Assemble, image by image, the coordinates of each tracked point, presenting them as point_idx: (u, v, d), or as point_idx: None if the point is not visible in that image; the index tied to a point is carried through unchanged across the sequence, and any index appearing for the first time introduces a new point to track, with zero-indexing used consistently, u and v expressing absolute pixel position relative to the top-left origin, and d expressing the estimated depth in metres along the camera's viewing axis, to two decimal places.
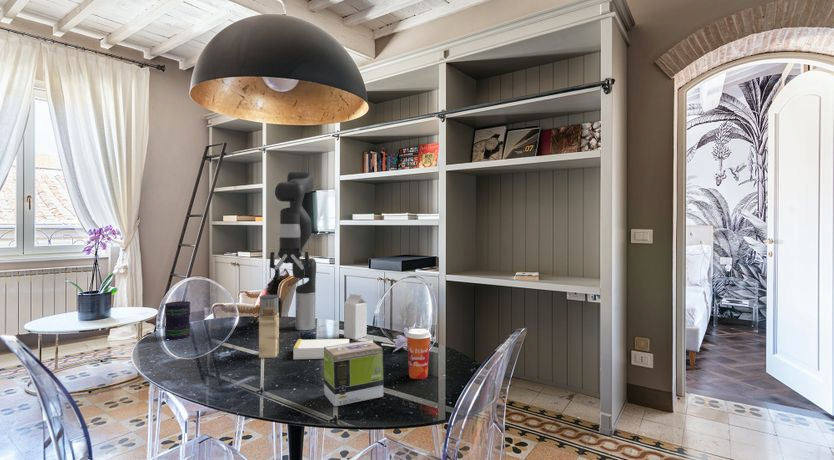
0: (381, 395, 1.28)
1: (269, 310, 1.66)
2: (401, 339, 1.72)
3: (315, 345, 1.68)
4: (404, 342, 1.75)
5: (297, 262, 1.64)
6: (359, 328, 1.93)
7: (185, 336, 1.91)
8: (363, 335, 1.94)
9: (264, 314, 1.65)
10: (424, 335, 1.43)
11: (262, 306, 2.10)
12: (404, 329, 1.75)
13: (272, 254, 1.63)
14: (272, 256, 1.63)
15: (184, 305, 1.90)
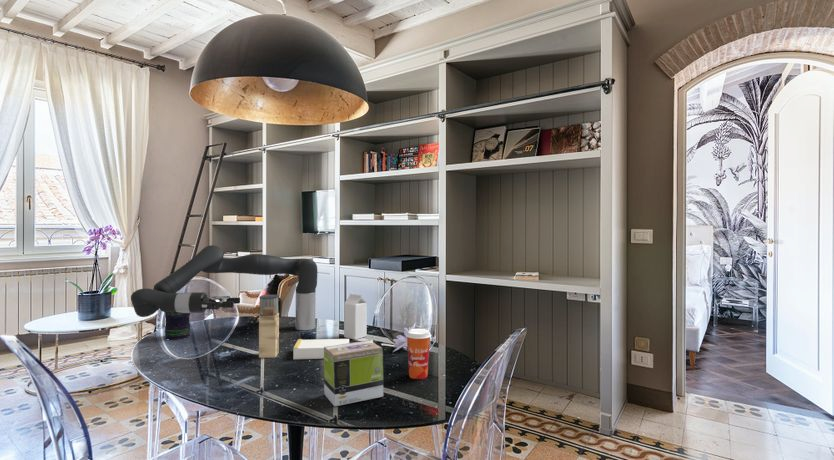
0: (381, 395, 1.28)
1: (269, 310, 1.66)
2: (401, 339, 1.72)
3: (315, 345, 1.68)
4: (404, 342, 1.75)
5: (215, 308, 1.62)
6: (359, 328, 1.93)
7: (185, 336, 1.91)
8: (363, 335, 1.94)
9: (264, 314, 1.65)
10: (424, 335, 1.43)
11: (262, 306, 2.10)
12: (404, 329, 1.75)
13: None
14: None
15: None
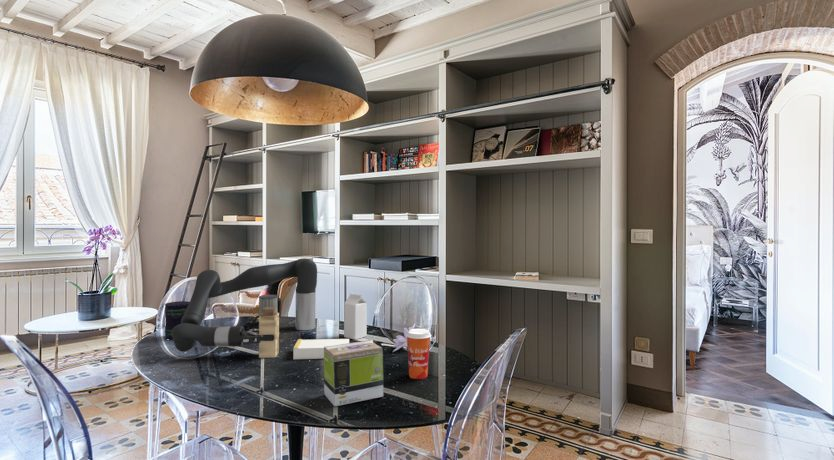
0: (381, 395, 1.28)
1: (269, 310, 1.66)
2: (400, 339, 1.72)
3: (315, 345, 1.68)
4: (404, 342, 1.75)
5: None
6: (359, 328, 1.93)
7: None
8: (363, 335, 1.94)
9: (264, 314, 1.65)
10: (424, 335, 1.43)
11: (261, 306, 2.10)
12: (404, 329, 1.75)
13: None
14: None
15: (184, 305, 1.90)
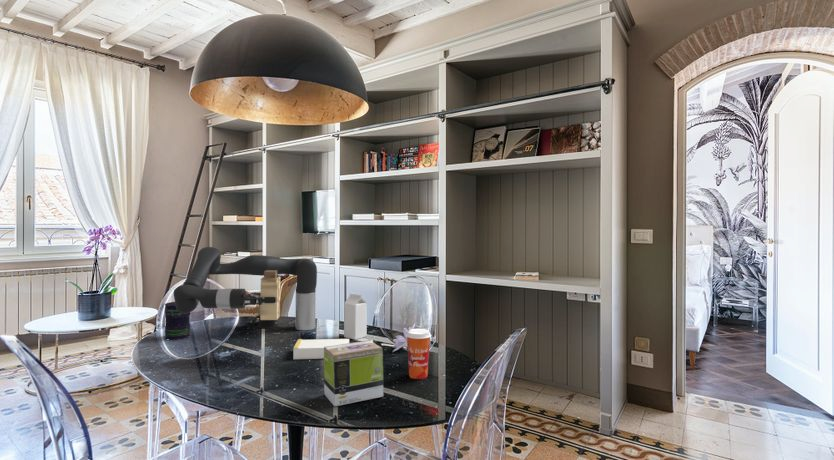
0: (381, 395, 1.28)
1: (271, 272, 1.65)
2: (400, 339, 1.72)
3: (315, 345, 1.68)
4: (403, 342, 1.75)
5: None
6: (359, 328, 1.93)
7: (185, 336, 1.91)
8: (363, 335, 1.94)
9: (266, 276, 1.65)
10: (424, 335, 1.43)
11: None
12: (403, 330, 1.75)
13: None
14: None
15: None
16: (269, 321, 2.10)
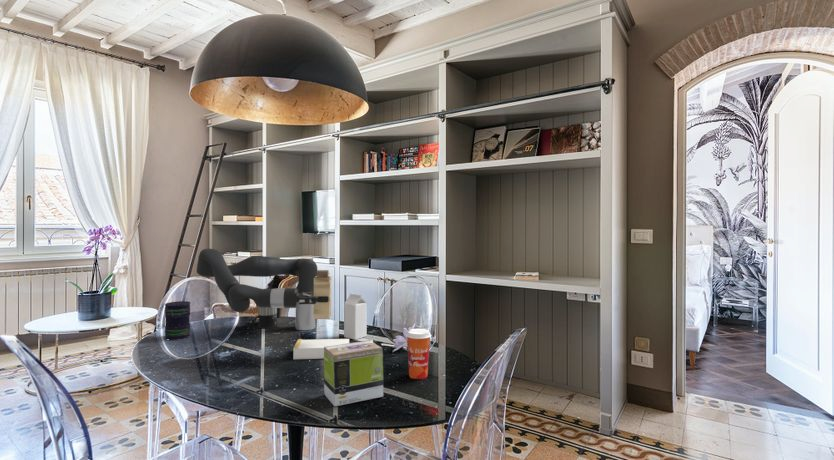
0: (381, 395, 1.28)
1: (323, 272, 1.68)
2: (400, 339, 1.72)
3: (315, 345, 1.68)
4: (403, 342, 1.75)
5: None
6: (359, 328, 1.93)
7: (185, 336, 1.91)
8: (363, 335, 1.94)
9: (318, 276, 1.67)
10: (424, 335, 1.43)
11: None
12: (403, 329, 1.75)
13: None
14: None
15: (184, 305, 1.90)
16: (269, 321, 2.10)
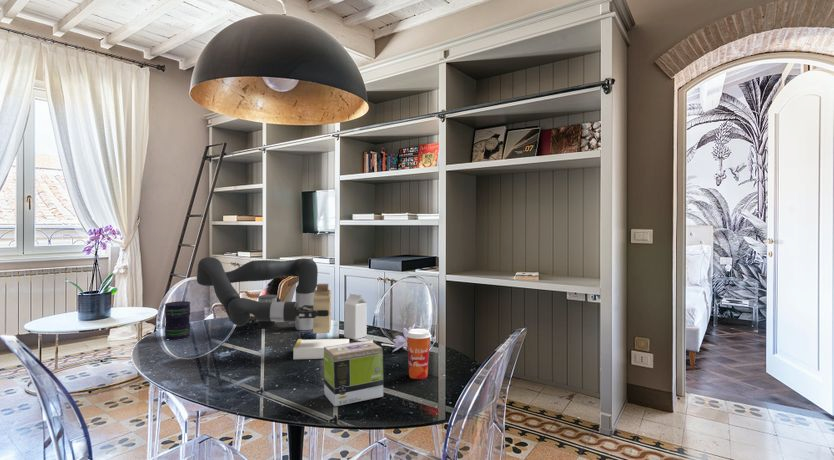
0: (381, 395, 1.28)
1: (323, 286, 1.68)
2: (400, 339, 1.72)
3: (315, 345, 1.68)
4: (403, 342, 1.75)
5: None
6: (359, 328, 1.93)
7: (185, 336, 1.91)
8: (363, 335, 1.94)
9: (318, 290, 1.68)
10: (424, 335, 1.43)
11: None
12: (403, 329, 1.75)
13: None
14: None
15: (184, 305, 1.90)
16: (268, 321, 2.10)
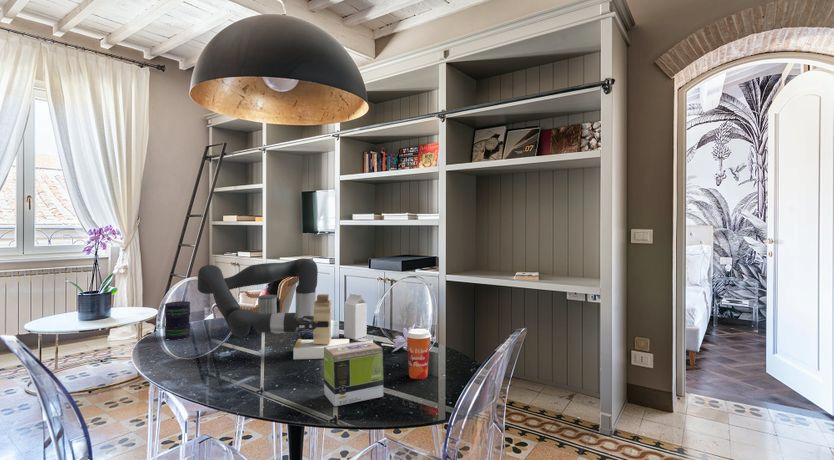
0: (381, 395, 1.28)
1: (323, 297, 1.68)
2: (400, 339, 1.72)
3: (315, 345, 1.68)
4: (403, 342, 1.75)
5: None
6: (359, 328, 1.93)
7: (185, 336, 1.91)
8: (363, 335, 1.94)
9: (318, 301, 1.68)
10: (424, 335, 1.43)
11: (260, 306, 2.10)
12: (403, 329, 1.75)
13: None
14: None
15: (184, 305, 1.90)
16: None
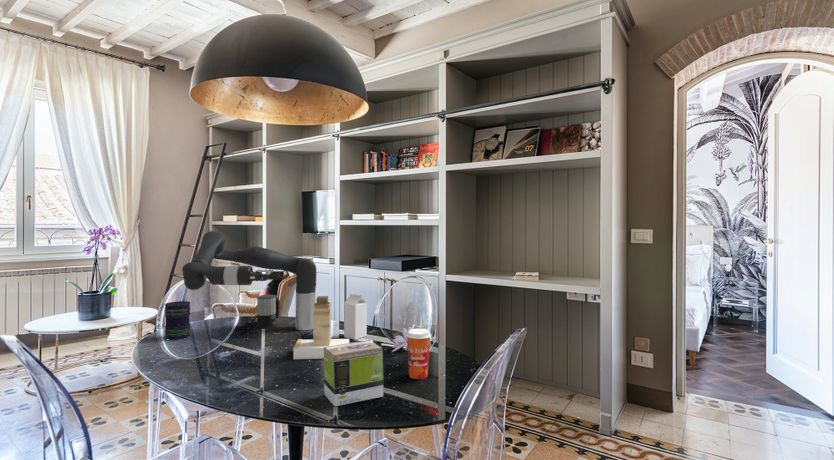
0: (381, 395, 1.28)
1: (323, 299, 1.68)
2: (399, 339, 1.71)
3: None
4: (403, 343, 1.75)
5: None
6: (359, 328, 1.93)
7: (185, 336, 1.91)
8: (363, 335, 1.94)
9: (318, 303, 1.68)
10: (424, 335, 1.43)
11: (259, 306, 2.10)
12: (403, 329, 1.74)
13: None
14: None
15: (184, 305, 1.90)
16: (267, 321, 2.10)
